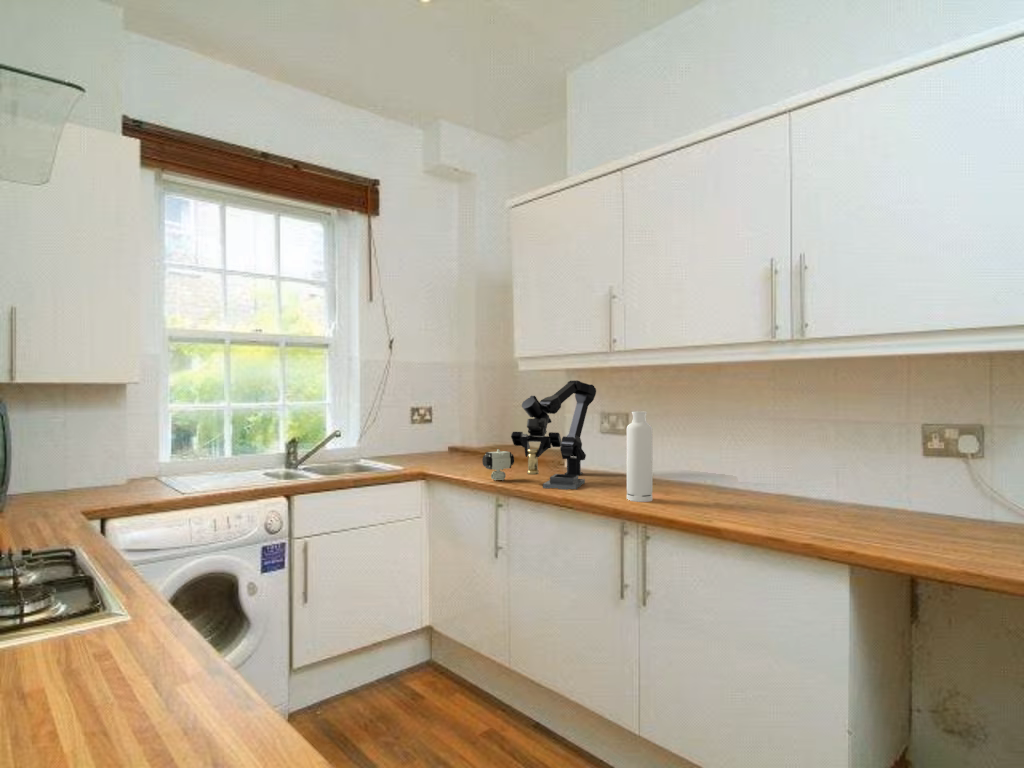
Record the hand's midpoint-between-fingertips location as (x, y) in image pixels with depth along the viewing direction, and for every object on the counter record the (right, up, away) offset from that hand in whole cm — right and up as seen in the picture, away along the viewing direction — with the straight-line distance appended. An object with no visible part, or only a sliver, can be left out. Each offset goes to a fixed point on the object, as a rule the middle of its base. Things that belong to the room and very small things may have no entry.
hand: (531, 456), depth 212 cm
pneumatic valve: (-13, -11, +10) cm, 19 cm away
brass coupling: (0, -7, +1) cm, 7 cm away
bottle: (+33, -10, -30) cm, 46 cm away
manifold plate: (+12, -10, -3) cm, 16 cm away
